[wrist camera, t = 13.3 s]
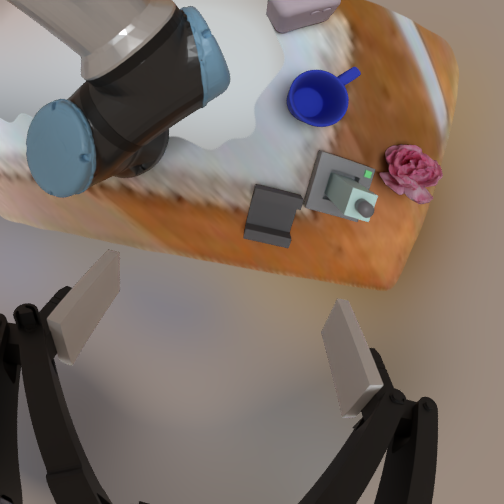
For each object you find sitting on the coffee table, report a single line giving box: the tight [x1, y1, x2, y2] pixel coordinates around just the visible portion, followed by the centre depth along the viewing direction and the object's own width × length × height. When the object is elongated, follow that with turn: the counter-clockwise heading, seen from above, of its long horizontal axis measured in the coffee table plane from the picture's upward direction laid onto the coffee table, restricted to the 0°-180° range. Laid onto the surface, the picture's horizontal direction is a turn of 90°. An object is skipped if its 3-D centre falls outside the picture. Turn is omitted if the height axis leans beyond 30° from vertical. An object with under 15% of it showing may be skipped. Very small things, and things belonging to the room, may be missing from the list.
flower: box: [380, 144, 443, 204], centre depth 42 cm, size 11×10×10 cm
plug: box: [324, 172, 378, 222], centre depth 40 cm, size 4×4×14 cm
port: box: [303, 150, 375, 222], centre depth 46 cm, size 10×10×3 cm
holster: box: [244, 184, 303, 248], centre depth 48 cm, size 8×9×4 cm
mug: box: [287, 67, 361, 127], centre depth 36 cm, size 8×12×10 cm
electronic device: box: [266, 0, 341, 33], centre depth 30 cm, size 10×5×10 cm, turn 115°
